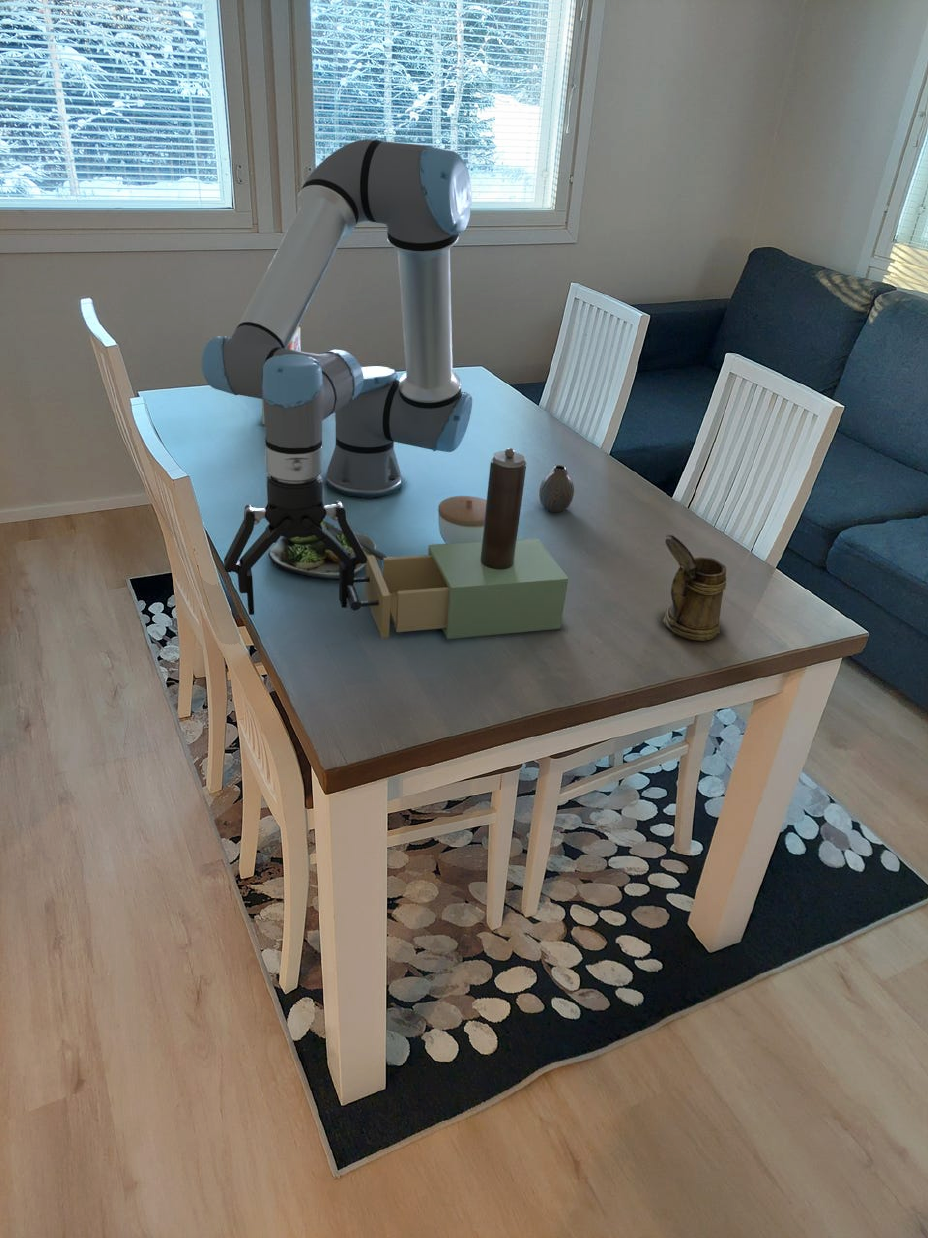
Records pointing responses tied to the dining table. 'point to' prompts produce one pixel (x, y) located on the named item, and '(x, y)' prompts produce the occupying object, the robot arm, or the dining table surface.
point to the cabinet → (500, 590)
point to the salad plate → (318, 554)
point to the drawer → (404, 594)
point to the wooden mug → (695, 594)
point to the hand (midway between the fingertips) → (297, 606)
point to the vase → (556, 490)
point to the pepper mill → (503, 509)
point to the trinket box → (462, 519)
